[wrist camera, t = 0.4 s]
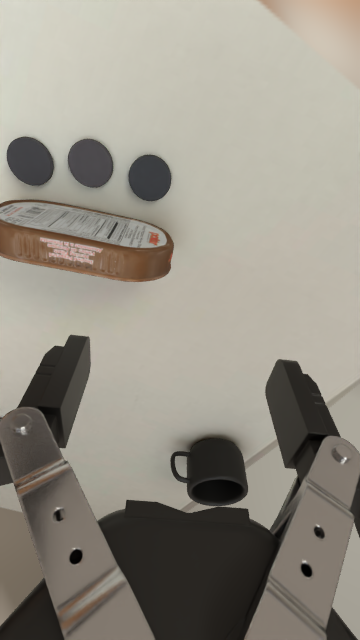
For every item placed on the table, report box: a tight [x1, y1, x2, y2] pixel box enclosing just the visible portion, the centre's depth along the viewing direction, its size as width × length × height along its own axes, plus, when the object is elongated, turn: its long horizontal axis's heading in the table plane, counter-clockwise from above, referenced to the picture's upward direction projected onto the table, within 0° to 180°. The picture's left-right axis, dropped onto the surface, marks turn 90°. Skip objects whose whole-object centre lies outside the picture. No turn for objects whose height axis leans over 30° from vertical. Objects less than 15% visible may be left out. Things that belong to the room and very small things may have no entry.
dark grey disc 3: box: [129, 155, 171, 201], centre depth 27 cm, size 4×4×1 cm
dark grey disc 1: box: [7, 137, 54, 186], centre depth 26 cm, size 4×4×1 cm
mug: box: [171, 439, 248, 506], centre depth 49 cm, size 12×9×7 cm
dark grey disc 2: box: [68, 139, 113, 187], centre depth 26 cm, size 4×4×1 cm
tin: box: [0, 200, 174, 282], centre depth 26 cm, size 15×3×8 cm, turn 78°
